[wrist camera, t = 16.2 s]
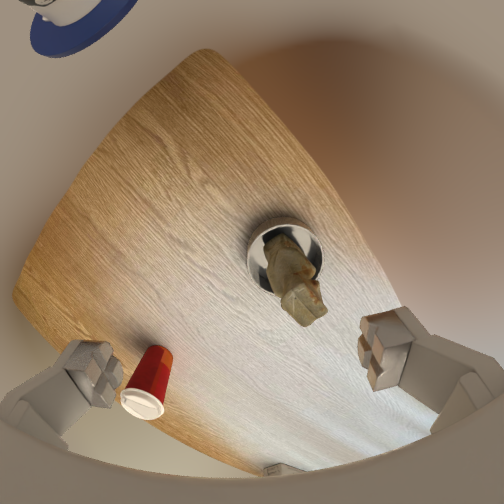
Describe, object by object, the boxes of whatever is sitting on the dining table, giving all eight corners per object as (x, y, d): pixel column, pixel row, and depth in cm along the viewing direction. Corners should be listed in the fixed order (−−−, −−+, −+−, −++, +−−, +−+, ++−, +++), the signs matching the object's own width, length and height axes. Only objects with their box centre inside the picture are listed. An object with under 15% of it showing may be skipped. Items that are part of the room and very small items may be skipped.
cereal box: (263, 468, 68) (265, 530, 44) (281, 462, 66) (286, 527, 43) (299, 480, 74) (305, 532, 50) (316, 474, 72) (324, 528, 48)
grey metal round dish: (242, 221, 39) (241, 229, 35) (315, 212, 39) (322, 219, 35) (252, 286, 43) (252, 301, 39) (318, 277, 43) (325, 291, 38)
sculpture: (281, 279, 42) (294, 340, 28) (254, 243, 40) (256, 293, 26) (312, 259, 41) (341, 313, 27) (287, 221, 39) (308, 261, 25)
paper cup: (136, 355, 49) (113, 405, 36) (150, 334, 47) (125, 387, 34) (169, 374, 51) (153, 426, 37) (185, 355, 48) (170, 411, 35)
